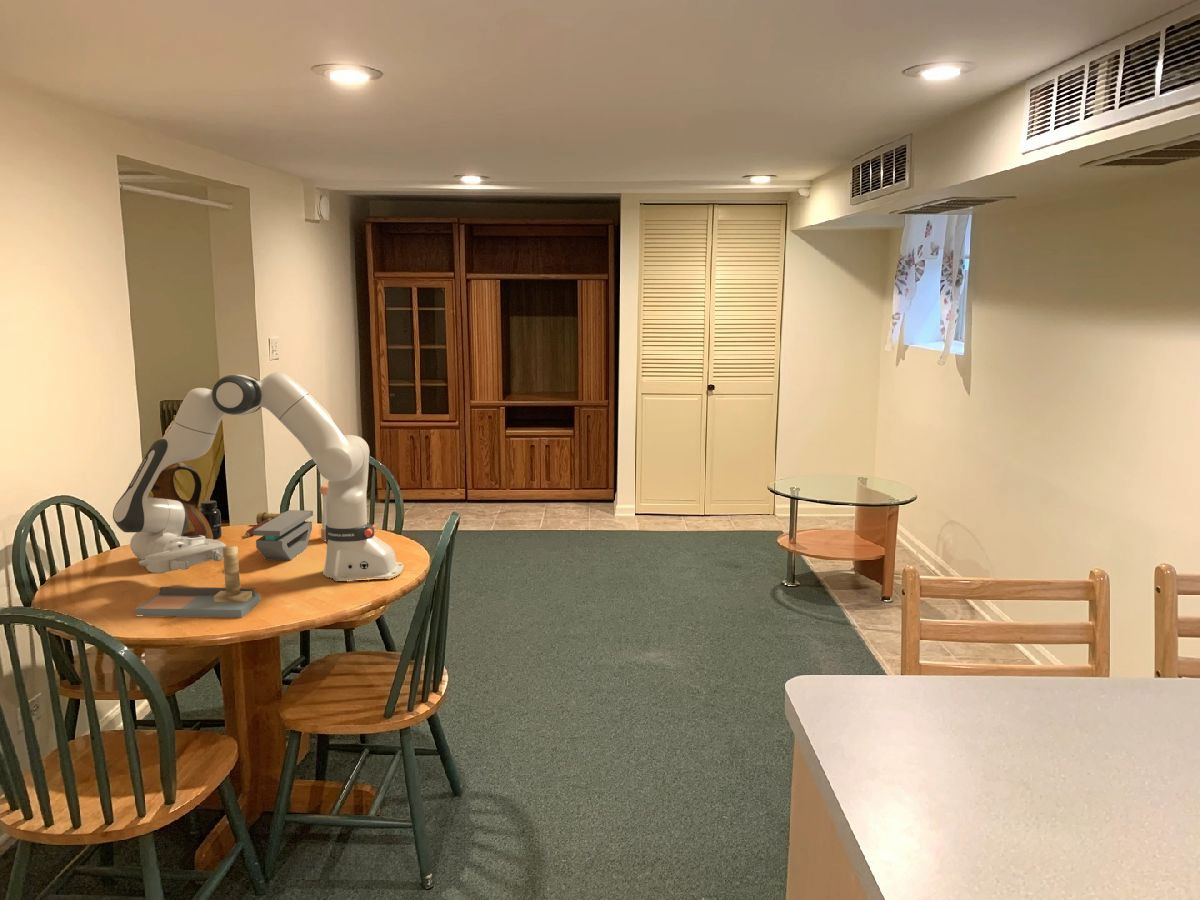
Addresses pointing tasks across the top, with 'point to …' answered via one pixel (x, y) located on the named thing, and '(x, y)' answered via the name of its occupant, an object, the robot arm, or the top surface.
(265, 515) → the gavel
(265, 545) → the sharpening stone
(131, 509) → the robot arm
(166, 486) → the ceramic pitcher
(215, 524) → the supplement bottle
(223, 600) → the beige post stand
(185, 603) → the board
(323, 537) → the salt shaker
